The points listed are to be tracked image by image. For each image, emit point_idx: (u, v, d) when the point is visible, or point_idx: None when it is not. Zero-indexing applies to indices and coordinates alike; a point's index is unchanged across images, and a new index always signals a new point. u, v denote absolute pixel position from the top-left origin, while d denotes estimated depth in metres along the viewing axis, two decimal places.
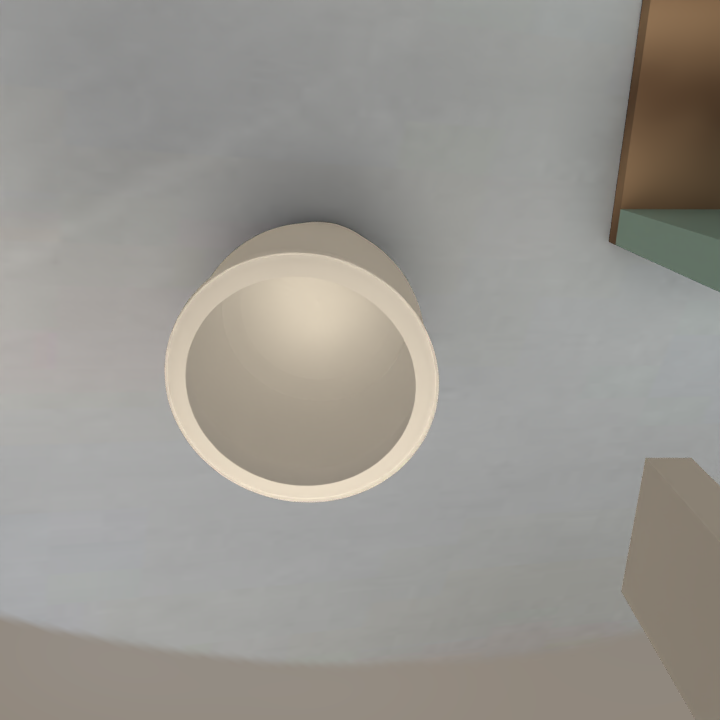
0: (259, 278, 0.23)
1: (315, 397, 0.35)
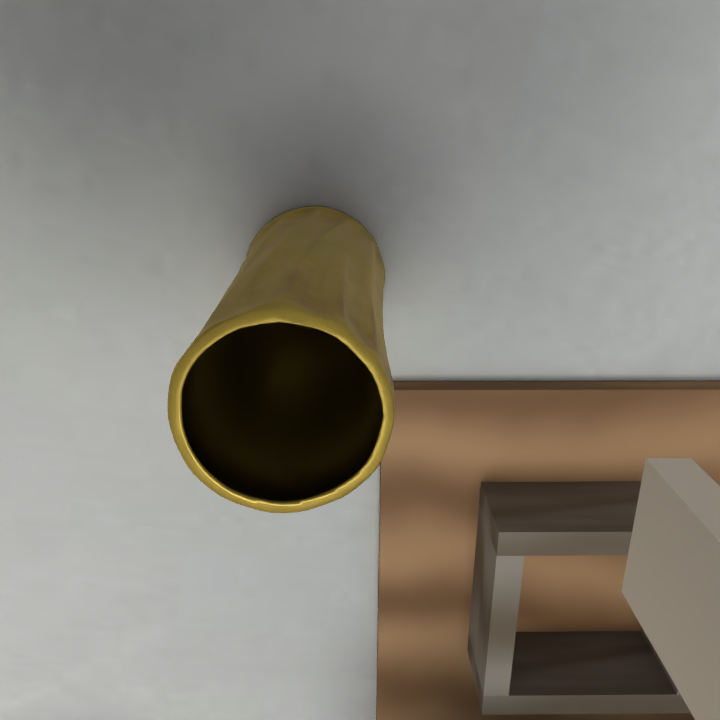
0: None
1: None
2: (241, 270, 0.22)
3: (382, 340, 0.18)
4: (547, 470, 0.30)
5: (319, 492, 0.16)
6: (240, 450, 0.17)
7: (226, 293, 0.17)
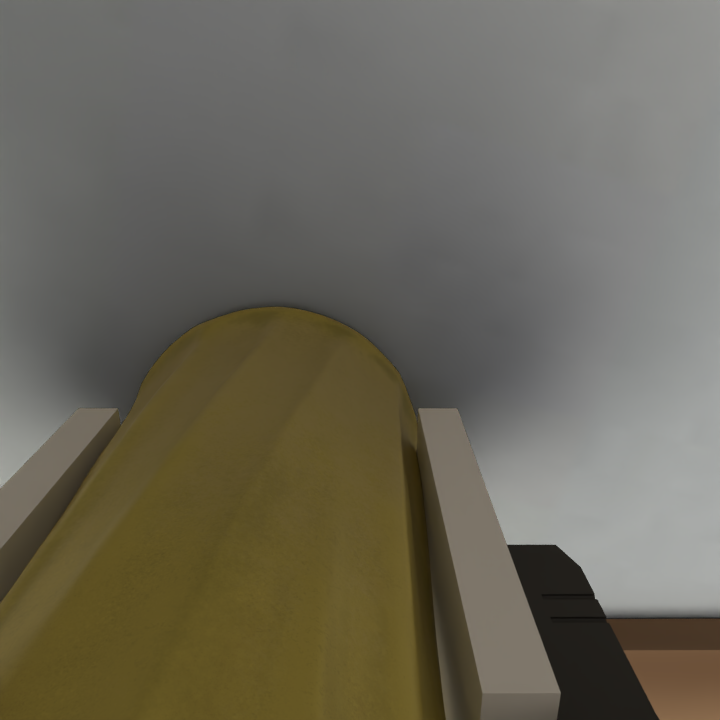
0: None
1: None
2: (53, 532, 0.08)
3: None
4: None
5: None
6: None
7: None
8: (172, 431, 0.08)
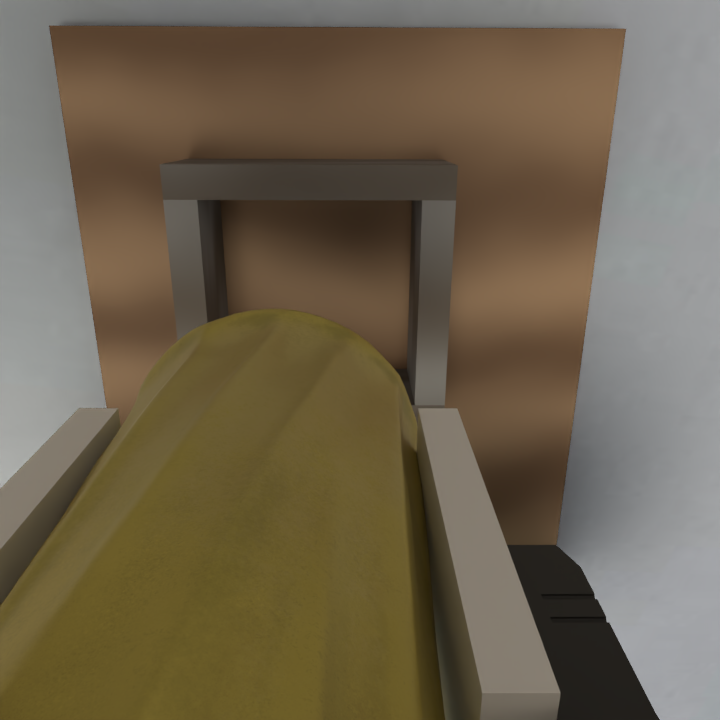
0: None
1: None
2: (52, 535, 0.08)
3: None
4: (264, 142, 0.26)
5: None
6: None
7: None
8: (172, 434, 0.08)
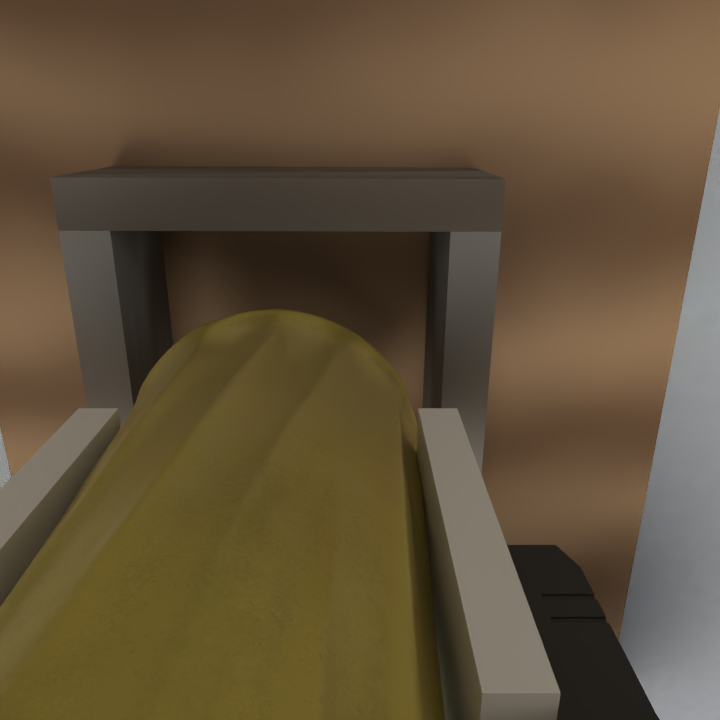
0: None
1: None
2: (52, 536, 0.08)
3: None
4: (220, 144, 0.18)
5: None
6: None
7: None
8: (172, 435, 0.08)
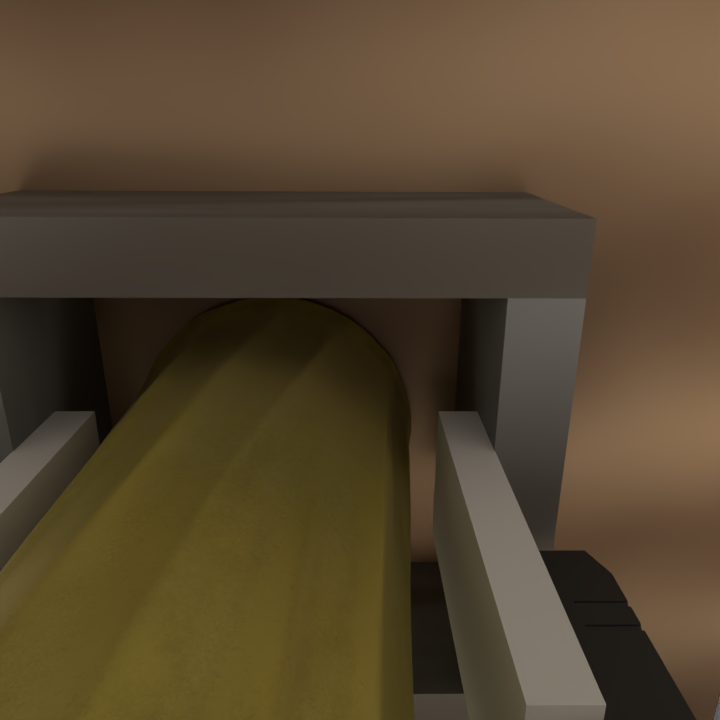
0: None
1: None
2: None
3: None
4: (170, 159, 0.13)
5: None
6: None
7: None
8: (172, 406, 0.09)
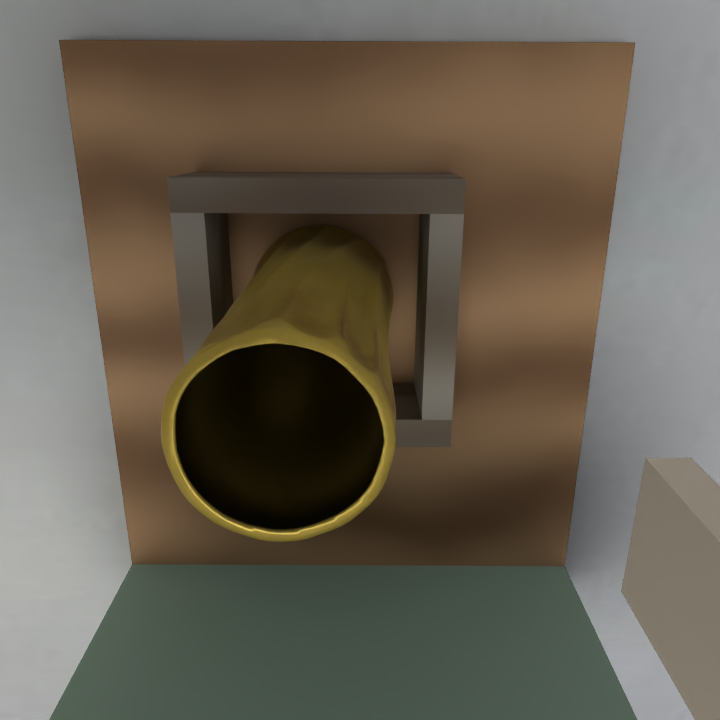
0: None
1: None
2: None
3: (386, 361, 0.18)
4: (272, 156, 0.25)
5: (319, 520, 0.15)
6: (239, 475, 0.16)
7: (226, 313, 0.17)
8: (288, 254, 0.22)
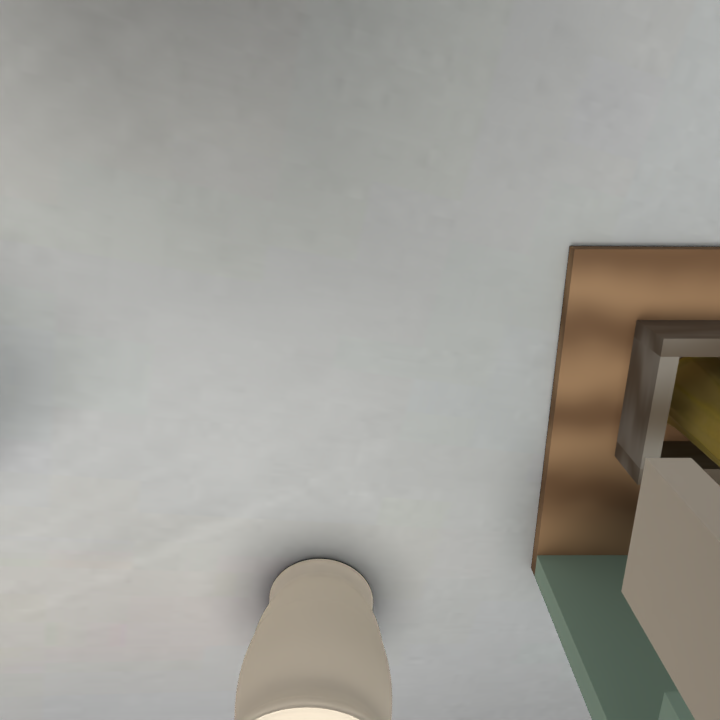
0: None
1: None
2: (709, 404, 0.39)
3: None
4: (684, 311, 0.43)
5: None
6: None
7: None
8: None
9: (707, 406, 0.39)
